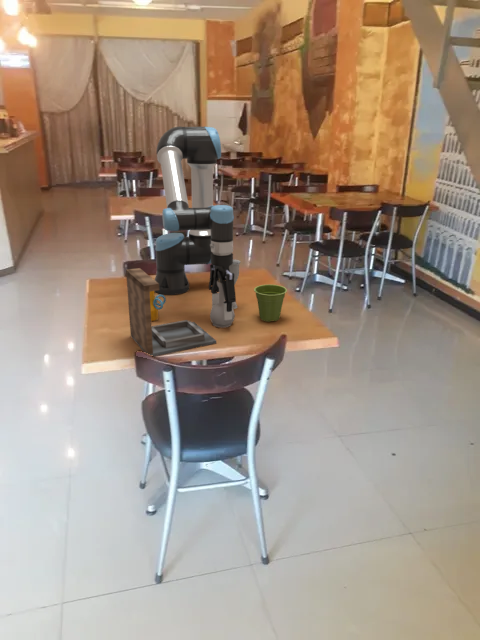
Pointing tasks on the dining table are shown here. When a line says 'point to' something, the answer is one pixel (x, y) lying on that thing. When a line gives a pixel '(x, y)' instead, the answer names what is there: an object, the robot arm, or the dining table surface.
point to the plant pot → (270, 301)
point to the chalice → (234, 269)
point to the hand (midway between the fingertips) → (221, 314)
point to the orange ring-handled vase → (155, 305)
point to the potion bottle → (220, 311)
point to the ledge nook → (158, 336)
